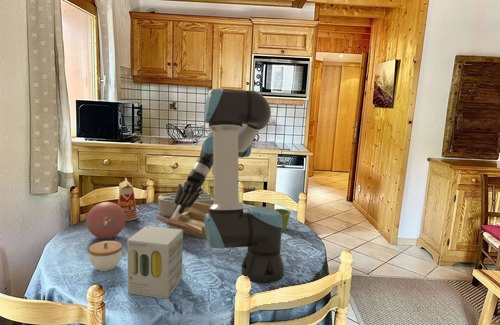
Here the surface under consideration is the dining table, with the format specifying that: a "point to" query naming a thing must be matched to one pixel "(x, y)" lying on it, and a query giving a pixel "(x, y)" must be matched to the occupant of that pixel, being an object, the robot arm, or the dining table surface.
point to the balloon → (106, 220)
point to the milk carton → (127, 200)
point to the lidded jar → (105, 255)
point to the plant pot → (284, 217)
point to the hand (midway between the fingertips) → (173, 219)
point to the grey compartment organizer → (169, 205)
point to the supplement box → (155, 261)
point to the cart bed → (194, 219)
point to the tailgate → (178, 224)
